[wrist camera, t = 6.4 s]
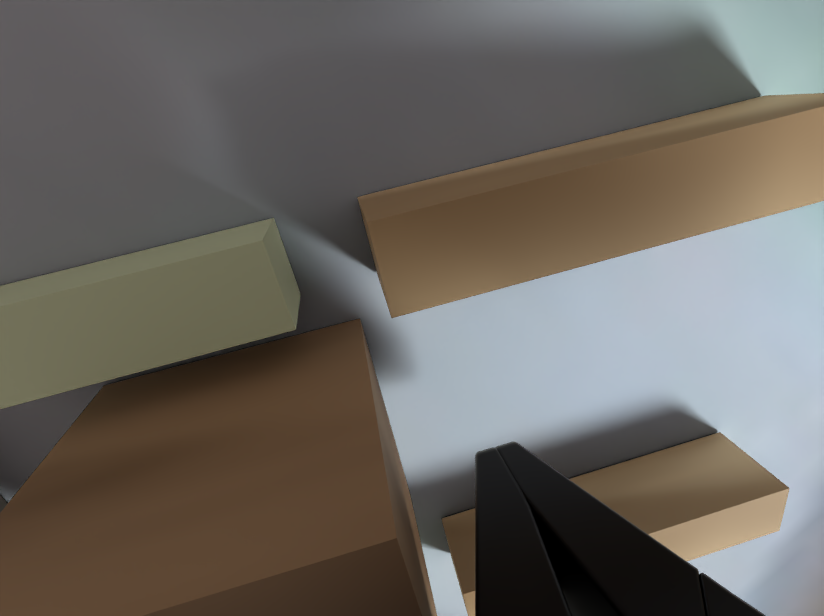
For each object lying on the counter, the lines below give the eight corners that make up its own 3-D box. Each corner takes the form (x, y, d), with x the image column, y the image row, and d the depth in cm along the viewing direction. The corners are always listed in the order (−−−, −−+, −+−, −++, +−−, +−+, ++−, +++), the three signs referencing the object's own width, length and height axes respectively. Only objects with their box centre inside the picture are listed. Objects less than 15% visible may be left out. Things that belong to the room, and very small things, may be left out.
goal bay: (398, 571, 12) (407, 629, 11) (216, 629, 12) (201, 697, 10) (273, 218, 8) (262, 239, 6) (-24, 291, 7) (-104, 332, 6)
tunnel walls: (714, 471, 13) (779, 530, 11) (450, 555, 12) (473, 632, 10) (764, 95, 8) (885, 90, 7) (357, 196, 8) (367, 221, 6)
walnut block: (409, 493, 11) (469, 762, 6) (208, 553, 10) (119, 884, 6) (360, 318, 9) (396, 538, 4) (103, 385, 8) (-158, 706, 4)
